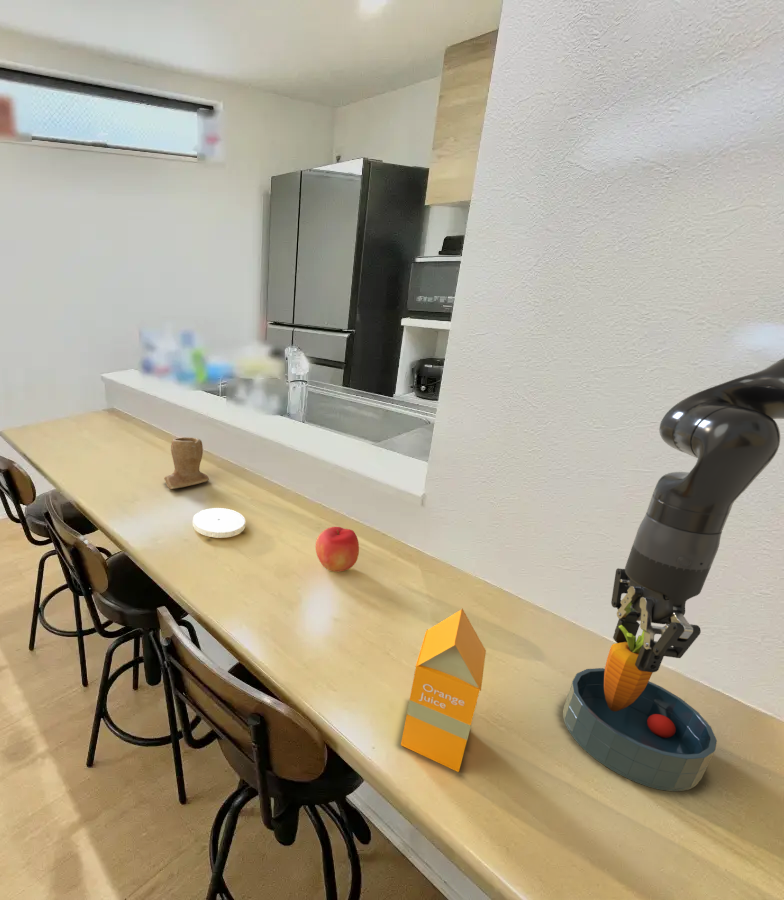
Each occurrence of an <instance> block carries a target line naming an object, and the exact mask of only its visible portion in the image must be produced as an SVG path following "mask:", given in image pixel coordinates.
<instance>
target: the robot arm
mask: <svg viewBox="0 0 784 900" xmlns="http://www.w3.org/2000/svg"><path fill="white" fill-rule="evenodd" d="M776 420H784V357H783V358H781V359H779V360H777V361H776V362H774V363H772V364H770V365H769V366H767V367H765V368H763V369H762V370H759V371H755V372H753V373H749V374H746V375H743V376H739V377H736V378H734V379H731V380H729V381H725V382H722V383H719V384H718V385H714V386H711V387H708V388H706V389H703V390H701V391H698V392H696V393H694V394H692V395H689V396H687V397H685V398H683V399H682V400H680V401H679V402H677V403H676V404H675V405H673V406H672V407H671V408H670V409H668V411H667V412H666V413H665V414H664V416H663V417H662V419H661V421H660V424H659V429H658V430H659V431H658V432H659V436H660V437H661V439H662V441H663V442H664V443H665V444H666V445H668V446H669V447H671V448H672V449H674V450H677V451H679V452H681V453H683V454H687V455H689V456H691V457H694V458H695V459H697V460H696V463H695V465H694V466H693V468H692V469H691V470H690V471H689V472H688V471H673V472H668V473H664V474H663V475H662V476H661V477H660V478H659V479H658V481H657V482H656V485H655V487H654V490H653V491H652V495H651V497H650V501H649V504H648V507H647V509H646V512H645V515H644V517H643V518H642V520H641V522H640V524H639V526H638V528H637V531H636V534H635V536H634V540H633V542H632V545H631V547H630V552H629V555H628V558H627V560H626V564H625V566H624V568H619V567H618V568H616V570H615V576H614V581H613V589H612V595H611V600H610V601H611V602H610V603H611V607H612V608H615V609H617V611H616V616H617V618H618V620H617V622H616V623H617V624H616V626H615V629H614V633H613V636H612V639H613V640H614V641H615V643H622V642H627V640H626V638H625V636H624V634H623V632H622V631H621V630H620V629H619V626H620V625H622V626H623V627H624V628H625V629H626V630H627V631H628V633H631V634H633V636H635V637H636V638H637V634H638V631H639V629H641V630H642V631H643V630H644V641H643V645H642V647H641V649H640V652H639V655H638V657H637V660H636V663H635V666H636V667H637V668H638V669H639V670H640V671H646V672H653V673H656V672H658V671H659V670H660V667H661V664H662V662H663V660H664V657H668V658H676V659H681V658H682V657H683V656H684V655H685V653H686V652H687V651H688V650H689V649H690V647H691V646H692V645H693V643H694V642H695V641H696V640H697V639H698V637H699V636H700V634H701V631H702V630H701V628H700V626H699V625H697V624H692V623H690V622H688V620H687V619H686V617H685V614H686V603H687V601H688V600H690V599H692V598H694V597H697V596H698V595H700V594H701V592H702V590H703V588H704V585H705V583H706V580H707V578H708V575H709V573H710V570H711V568H712V565H713V563H714V560H715V557H716V555H717V553H718V551H719V548H720V542H721V537H722V533H723V530H724V528H725V526H726V523H727V520H728V518H729V515H730V513H731V510H732V508H733V505H734V503H735V502H736V500H737V499H738V498H739V497H740V496H741V495H742V494H743V493H744V492H745V491H746V490H747V489H748V488H749V486H751V484H752V483H753V482H754V481H755V480H756V479H757V477H759V475H760V474H761V473H762V472H763V471H764V470H765V469H766V468H767V466H768V465H770V463H771V462H772V460H773V459H774V458H775V456H776V454H777V453H778V451H779V448H780V444H781V430H780V427H779V425H778V423H777V422H776ZM623 594H625V595H624V597H622V595H623ZM639 622H640V623H639ZM652 624H659V625H663V626H658V625H652ZM655 635H660V637H659V639H657V640H655Z"/></svg>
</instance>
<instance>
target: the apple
mask: <svg viewBox="0 0 784 900" xmlns="http://www.w3.org/2000/svg"><path fill="white" fill-rule="evenodd" d="M315 553H316V556H317V559H318V561H319V562H320V564H321V565H322V567H323V568H324V569H326V570H327V571H329V572H334V573H335V572H336V573H337V572H344V571H345V572H346V571H348V570H349V569H351V568H352V567H353V566H354V565H355V564H356V563H357V561H358V559H359V555H360V544H359V539H358V536H357V534H356V532H355V531H354V530H352V529H350V528H344V527H341V526H331V527H327V528H326V529H323V530H322V531H321V532H320V533H319V534H318V536H317V538H316V540H315Z"/></svg>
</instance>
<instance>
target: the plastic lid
mask: <svg viewBox="0 0 784 900" xmlns="http://www.w3.org/2000/svg"><path fill="white" fill-rule="evenodd" d="M192 528H193V530H195V531H196V532H197V533H199V534H201V535H202V536H205V537H210V538H217V539H219V538H220V539H223V538H224V539H225V538H231V537H235V536H238V535H239V534H241V533H243V531H244V530H245V528H246V518H245V517H244V515H243V514H242V513H240V512H238V511H236V510H233V509H231V508H230V509H229V508H225V507H211V508H206V509H202V510H199V511H198V512H196V513H195V514H194V515H193V516H192Z"/></svg>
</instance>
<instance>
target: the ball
mask: <svg viewBox="0 0 784 900" xmlns="http://www.w3.org/2000/svg"><path fill="white" fill-rule="evenodd" d="M647 725H648V727H649V729H650V730H651V731H652V732H653V733H654V734H656V735H658V736H660V737H664V738H668V737H672V736H673V735H674V734H675V732H676V728H675V725H674V723H673V722H672V721H671V720H670V719H669V718H667V717H666V716H663V715H660V714H653V715H651V716H649V717H648V719H647Z"/></svg>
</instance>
